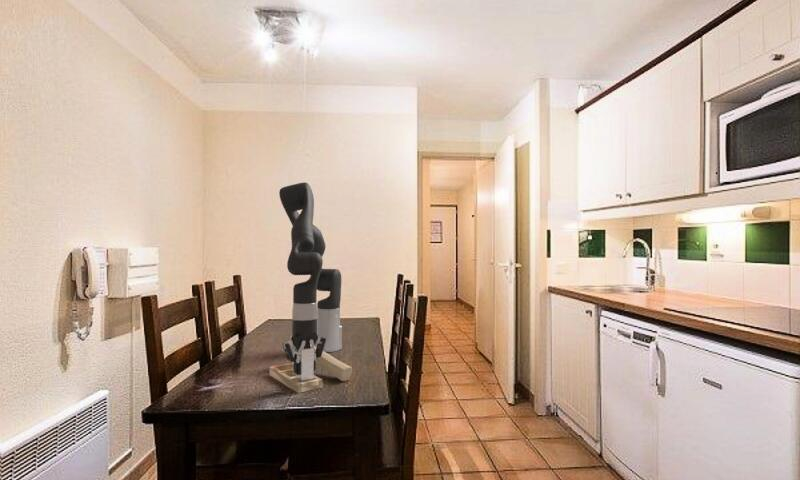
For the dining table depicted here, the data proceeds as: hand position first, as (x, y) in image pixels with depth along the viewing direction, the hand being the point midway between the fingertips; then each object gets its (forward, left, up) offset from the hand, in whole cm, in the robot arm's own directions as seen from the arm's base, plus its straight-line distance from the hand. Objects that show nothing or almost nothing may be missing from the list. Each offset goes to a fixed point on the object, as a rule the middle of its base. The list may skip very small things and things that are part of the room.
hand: (304, 372), depth 138 cm
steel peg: (0, 0, -4) cm, 4 cm away
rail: (0, -7, -4) cm, 8 cm away
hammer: (-11, -11, -5) cm, 16 cm away
